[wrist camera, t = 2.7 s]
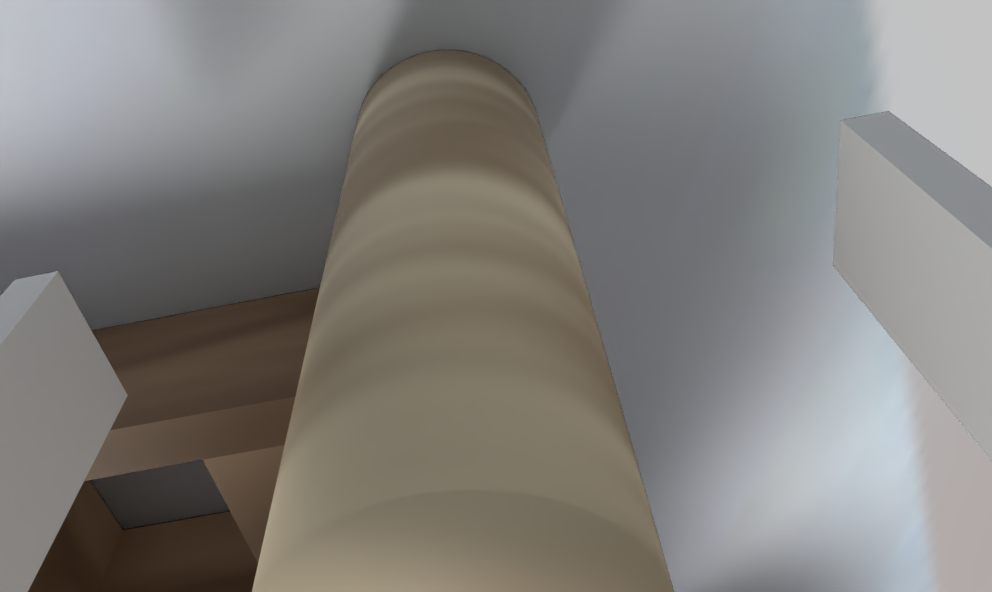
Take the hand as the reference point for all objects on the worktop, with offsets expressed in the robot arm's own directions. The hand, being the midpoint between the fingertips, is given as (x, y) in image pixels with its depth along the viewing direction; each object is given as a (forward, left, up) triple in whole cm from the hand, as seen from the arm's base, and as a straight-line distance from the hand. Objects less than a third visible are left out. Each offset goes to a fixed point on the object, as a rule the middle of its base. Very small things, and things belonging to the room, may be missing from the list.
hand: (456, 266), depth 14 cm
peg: (0, 0, -5) cm, 5 cm away
